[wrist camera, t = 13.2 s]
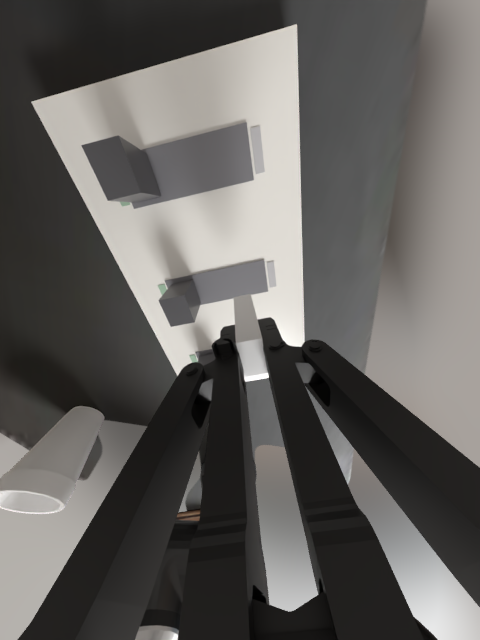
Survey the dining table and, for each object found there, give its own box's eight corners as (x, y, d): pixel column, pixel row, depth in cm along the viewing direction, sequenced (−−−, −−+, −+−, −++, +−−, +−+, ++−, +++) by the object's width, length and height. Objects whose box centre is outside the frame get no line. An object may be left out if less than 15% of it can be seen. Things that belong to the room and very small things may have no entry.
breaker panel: (300, 360, 32) (305, 372, 30) (188, 379, 33) (185, 392, 31) (287, 50, 15) (297, 21, 13) (57, 116, 16) (28, 100, 14)
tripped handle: (200, 302, 23) (194, 322, 19) (181, 306, 23) (170, 326, 19) (192, 279, 21) (184, 295, 17) (171, 283, 21) (158, 300, 17)
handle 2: (221, 367, 28) (219, 392, 24) (205, 370, 28) (201, 395, 24) (216, 352, 27) (213, 377, 23) (199, 355, 27) (193, 380, 23)
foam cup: (79, 394, 34) (5, 484, 23) (122, 417, 38) (77, 503, 27) (51, 413, 37) (-27, 503, 26) (94, 433, 41) (43, 517, 30)
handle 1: (161, 196, 17) (141, 192, 13) (135, 202, 17) (107, 200, 13) (146, 153, 15) (118, 135, 12) (118, 161, 16) (81, 145, 12)
